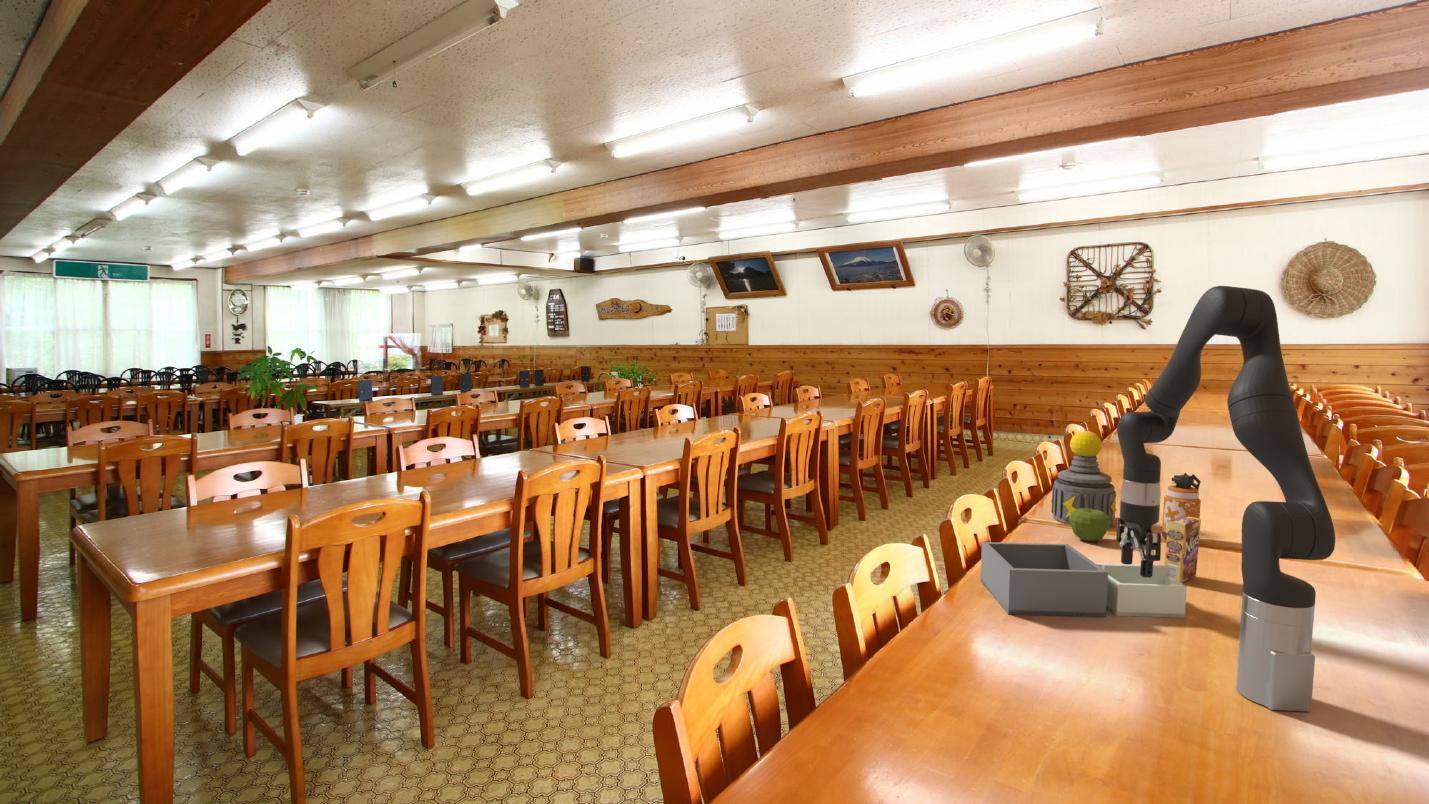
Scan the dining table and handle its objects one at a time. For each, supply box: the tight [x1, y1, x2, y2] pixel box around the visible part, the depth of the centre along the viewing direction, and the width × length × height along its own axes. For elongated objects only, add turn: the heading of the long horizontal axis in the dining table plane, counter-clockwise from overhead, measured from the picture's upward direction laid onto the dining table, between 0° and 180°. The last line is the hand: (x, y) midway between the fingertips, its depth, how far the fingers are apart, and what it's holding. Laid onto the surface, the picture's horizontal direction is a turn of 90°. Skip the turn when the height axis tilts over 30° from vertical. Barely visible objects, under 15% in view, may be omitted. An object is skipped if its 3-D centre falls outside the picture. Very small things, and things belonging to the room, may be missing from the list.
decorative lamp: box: [1050, 430, 1117, 526], centre depth 223 cm, size 19×19×30 cm
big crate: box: [980, 541, 1108, 618], centre depth 157 cm, size 20×20×10 cm
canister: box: [1161, 472, 1202, 540], centre depth 201 cm, size 9×11×20 cm
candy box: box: [1163, 516, 1202, 584], centre depth 169 cm, size 9×4×15 cm, turn 123°
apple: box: [1069, 508, 1111, 543], centre depth 201 cm, size 11×10×10 cm
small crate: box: [1094, 562, 1188, 619], centre depth 153 cm, size 14×14×9 cm
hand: (1136, 570), depth 153 cm, fingers open, 8 cm apart
